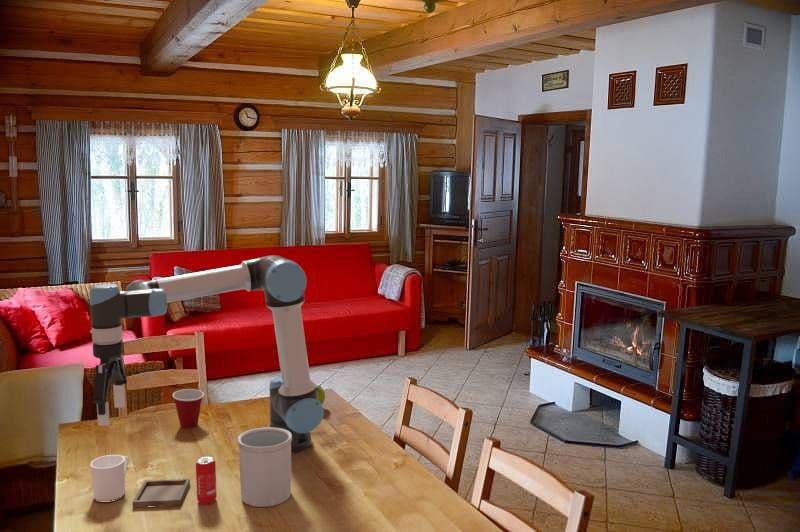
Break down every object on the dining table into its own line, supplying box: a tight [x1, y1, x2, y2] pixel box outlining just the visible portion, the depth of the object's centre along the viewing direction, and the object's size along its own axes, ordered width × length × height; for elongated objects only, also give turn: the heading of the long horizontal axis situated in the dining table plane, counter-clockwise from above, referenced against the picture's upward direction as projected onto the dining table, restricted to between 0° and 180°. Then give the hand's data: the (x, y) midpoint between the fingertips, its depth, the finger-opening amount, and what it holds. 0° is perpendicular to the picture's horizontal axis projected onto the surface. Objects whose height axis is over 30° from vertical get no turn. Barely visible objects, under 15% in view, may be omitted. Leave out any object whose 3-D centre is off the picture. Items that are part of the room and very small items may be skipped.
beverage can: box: [195, 456, 218, 506], centre depth 188 cm, size 5×5×12 cm
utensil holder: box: [237, 426, 292, 508], centre depth 191 cm, size 15×15×18 cm
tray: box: [131, 478, 191, 508], centre depth 191 cm, size 13×13×2 cm
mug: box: [89, 454, 130, 502], centre depth 191 cm, size 11×9×10 cm
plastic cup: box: [172, 388, 205, 429], centre depth 241 cm, size 11×11×12 cm
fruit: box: [316, 385, 326, 405], centre depth 259 cm, size 9×9×10 cm
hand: (112, 415), depth 189 cm, fingers open, 13 cm apart
